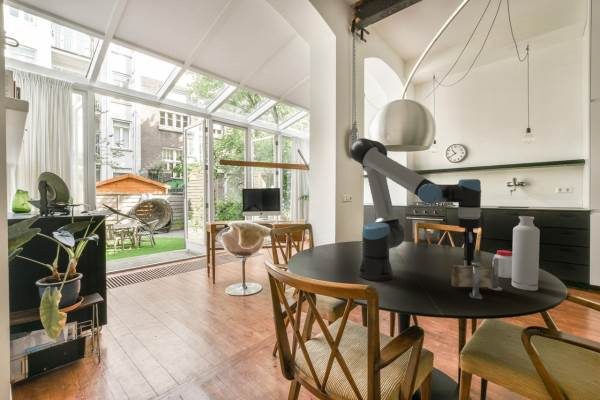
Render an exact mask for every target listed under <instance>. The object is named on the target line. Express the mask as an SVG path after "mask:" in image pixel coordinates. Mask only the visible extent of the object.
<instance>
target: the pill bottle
mask: <svg viewBox="0 0 600 400" xmlns="http://www.w3.org/2000/svg"><path fill="white" fill-rule="evenodd" d="M493 258H498V259H499V274H498V278H504V279H512V251H511V250H505V249H504V250H503V249H499V250H498V249H497V250H496V254H494V255H493Z"/></svg>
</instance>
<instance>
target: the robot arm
mask: <svg viewBox="0 0 600 400" xmlns="http://www.w3.org/2000/svg"><path fill="white" fill-rule="evenodd" d="M349 153H350V155H351V158H352V159H353V160H354V161H355V162H357V163H359V164H360V165H361V167H362V171H364V172H366V175H367V179H368V185H369V189H370V194H371V198H372V199H371V200H372V205H373V209H374V212H375V220H374V222H369V223H365V224H364V225H363V227H362V232H361V236H362V237H361V238H362V241H361V242H362V243H361V244H362V248H361V249H362V253H361V254H362V258H361V260H360V261H361V262H360V264H359V267H358V270H357V271H358V276H359V277H360V278H363V279H365V280H369V281H376V282H377V281H378V282H383V281H385V282H387V281H391V280H392V279H393V278H394V270H393V267H392V264H391V262H390V261H391V260H390V250H391V249H393V248H398V246H400V245H402V244H403V243H404V241H405V239H406V229H405V228H404V226H402V224H400V219H399V217H397V216H396V215H395V212H394V207H393V203H392V199H391V195H390V193H391V192H390V189H389V185H388V180H387V179H389V180H391V181H392V182H394V183H395V184H396V185H397V184H398V185H399V186H400V187H402V188H404V189H405V190H407V191H409V192H411V193H412V194H413V195H415V196H416V197H418V199H419V200H420V201H421V202H422V203H424V204H428V205H433V204H440V203H455V204H457V203H458V209H457V216H458V219H457V220H458V221H457V222H458V223H457V226H458V227H459V228H462V229H464V231H462V236H463V239H462V241H463V258H462V259H463V261H464V262H463V263H464V265H463V266H472V262H474V260H475V255H474V254H475V241H476V232H475V231H474V230H475V229H476V230H477V229H480V228H481V219H480V217H481V213H482V212H483V210H482V209H481V206H482V205H481V201H482V186H481V185H482V184H481V180H480V179H478V178H469V179H468V178H467V179H466V178H465V179H464V178H463V179H459V180H458V182H457V183H456V184H440V183H439V184H438V183H437V184H436V183H434V182H432V181H431V180H430V179H427V178H425V177H424V176H422V175H420V174H419V173H417V172H415V171H414V170H411V169H410V168H408V167H407V166H405V165H403V164H401V163H400V162H398V161H396V160H394V159H392V158H391V157H388V149H387V147H386V146H385V145H384V144H383V143H382V142H379V141H378V140H372V139H369V138H366V137H362V138H358V139H356V140H354V141H353V143H352V144H351V146H350V150H349Z"/></svg>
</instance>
